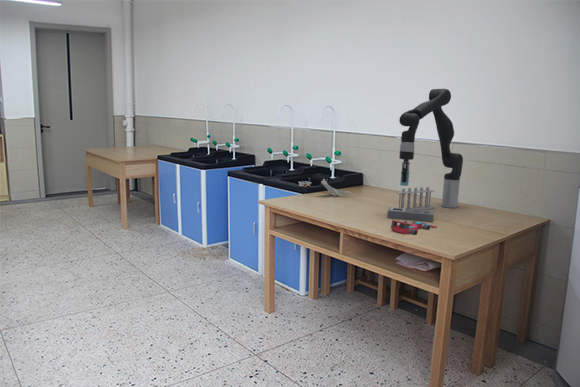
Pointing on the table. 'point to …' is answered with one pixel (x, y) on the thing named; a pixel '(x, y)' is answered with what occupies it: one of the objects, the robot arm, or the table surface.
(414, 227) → the race car
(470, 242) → the table surface
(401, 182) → the block
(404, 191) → the test tube rack
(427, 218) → the power strip
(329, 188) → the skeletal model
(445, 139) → the robot arm
